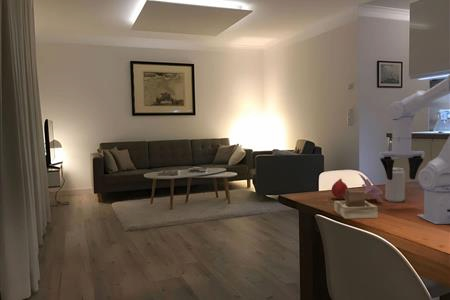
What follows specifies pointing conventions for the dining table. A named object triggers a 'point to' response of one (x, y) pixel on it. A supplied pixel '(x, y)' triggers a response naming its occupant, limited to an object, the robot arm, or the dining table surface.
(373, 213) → the beech base
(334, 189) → the onion
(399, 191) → the beverage can
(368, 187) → the lily
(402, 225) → the dining table surface
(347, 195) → the walnut block
